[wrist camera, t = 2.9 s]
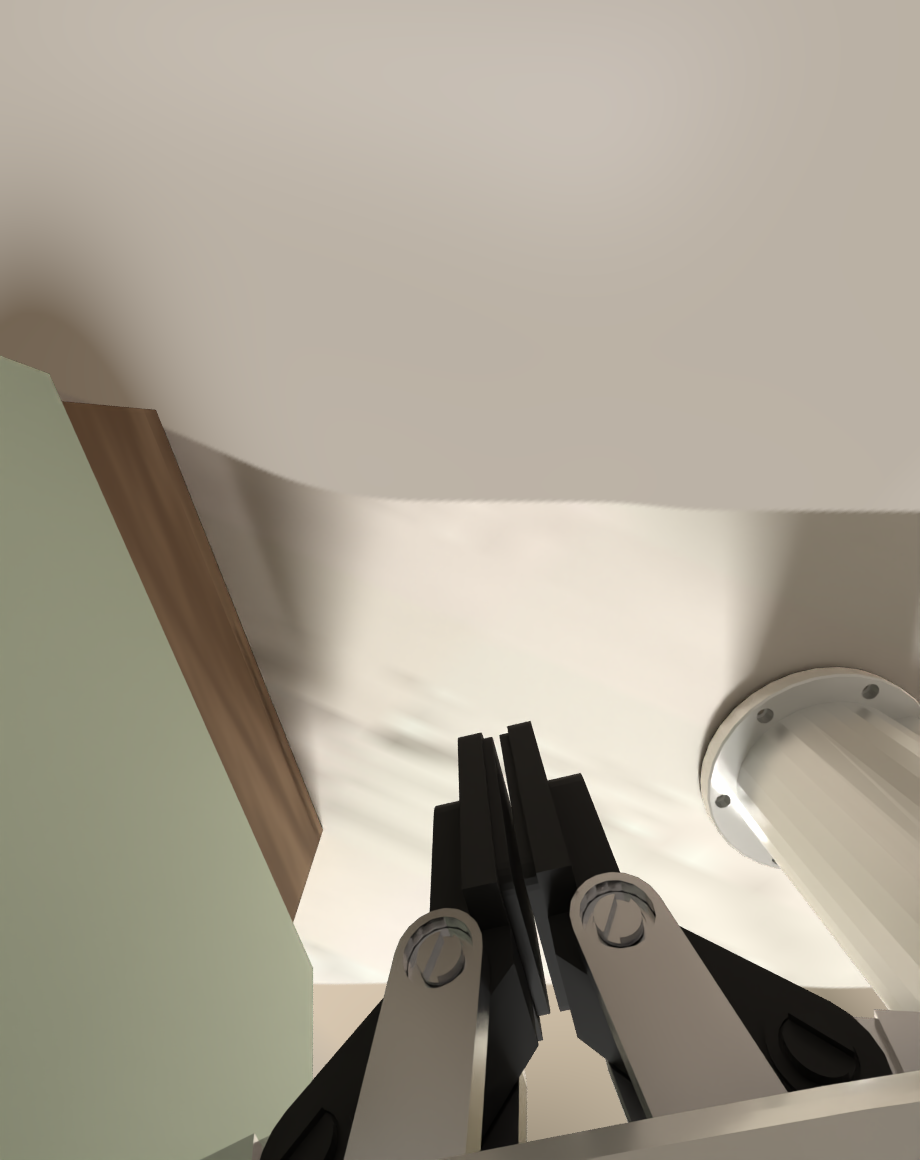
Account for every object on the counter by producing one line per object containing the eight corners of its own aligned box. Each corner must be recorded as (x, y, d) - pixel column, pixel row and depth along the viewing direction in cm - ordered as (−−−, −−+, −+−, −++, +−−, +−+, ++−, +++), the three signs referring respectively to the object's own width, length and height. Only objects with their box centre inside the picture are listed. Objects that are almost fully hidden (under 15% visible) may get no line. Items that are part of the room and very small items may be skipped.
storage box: (155, 409, 23) (10, 397, 16) (322, 830, 30) (278, 968, 22) (-201, 507, 24) (-505, 541, 17) (36, 895, 31) (-104, 1050, 23)
